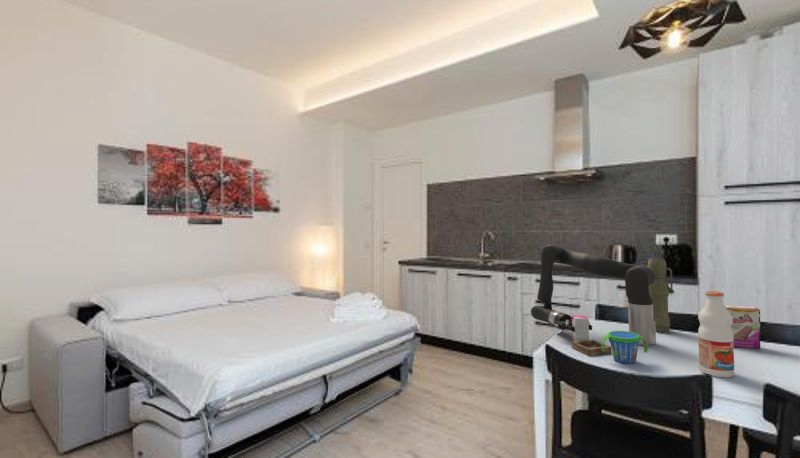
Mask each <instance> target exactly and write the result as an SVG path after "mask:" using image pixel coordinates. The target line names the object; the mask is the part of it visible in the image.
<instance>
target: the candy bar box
mask: <svg viewBox="0 0 800 458" xmlns="http://www.w3.org/2000/svg"><path fill="white" fill-rule="evenodd" d="M724 306H725V308H726V310H727V311H728V312H729V313H730V314H731V316H732V324H731V330H732V332H733V339H734V348H739V349H740V348H741V349H742V348H743V349H753V350H754V349H756V350H761V309H760V308H757V307H756V306H742V305H725V304H724Z"/></svg>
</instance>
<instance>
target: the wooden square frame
mask: <svg viewBox="0 0 800 458" xmlns="http://www.w3.org/2000/svg"><path fill="white" fill-rule="evenodd" d="M601 343H602V342H600V341H598V340H595V339H589V340H585V341H575V342H573V341H571V343H570V345H571V349H573V350H576V351H577V352H579V353H582V354H583V355H586V356H588V357H589V356H597V355H606V354H607V355H608V354H612V349H611V345H610V346H609V345H607V344H605V343H604V350H605V352H604V351H603V350H602V347H601Z"/></svg>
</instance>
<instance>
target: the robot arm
mask: <svg viewBox="0 0 800 458" xmlns="http://www.w3.org/2000/svg"><path fill="white" fill-rule="evenodd" d="M540 254H541V255H540V277H539V279H540V280H539V287H538V292H537V296H536V298H537V301H539V302H542V303H543V305H533V307H532V308H531V309H530V315H531V317H532V318H533V319H535V320H538V321H542V322H545V323H548V324H550V325H552V326H554V327H555V328H556V329H559V330H561V331H570V332H575V327H573V326H572V315H570V314H568V313H564V312H561V311H557V310H555V309H553V303H552V298H553V293H554V279H553V268H554V264H562V265H566V266H571V267H573V268H576V269H578V270H580V271H581V272H585V273H587V274H591V275H594V276H599V277H607V278H618V279H622V280H624V284H625V285H624V286H625V295H626V298H627V308H628V309H627V310H628V313H627V316H628V332H633V333H636V334H638V335H639V336H641V337H642V338H644V339H645V341H646V343H647V346H653V345H655V344H657V332H656V322H655V321H653V298H652V297H651V296H650V294H649V285H651V284H652V283H653V282H654V281H655V279H656V276H655V273H654V272H653V271H652V270H651V269H650V268H648V266H645V265H639V264H633V263H632V264H631V263H627V262H622V261H618V260H616V259H615V260H614V259H611V258H608V257H605V256H604V257H603V256H600V255H598V254H592V253H587V252H577V251H573V250H570V249H566V248H564V247H562V246H560V245H559V246H558V245H554V244H547V245H545V246H544V247H542V249H541V253H540ZM592 330H593V325H591V324H590V321H589V331H592ZM638 346H644V342H643V340H642V339H640V340H639V343H638Z"/></svg>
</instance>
